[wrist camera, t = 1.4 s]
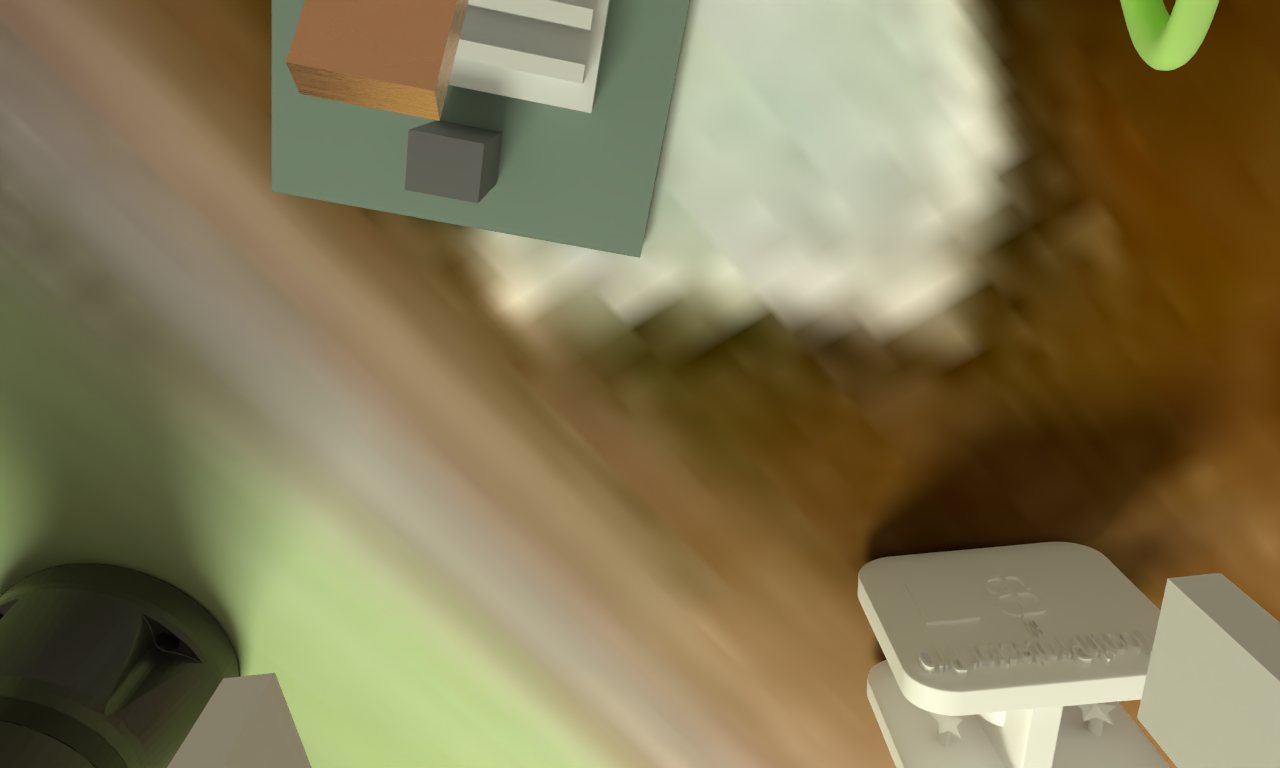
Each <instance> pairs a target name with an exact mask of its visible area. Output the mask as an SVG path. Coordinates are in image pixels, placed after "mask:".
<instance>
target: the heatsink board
mask: <svg viewBox="0 0 1280 768" xmlns="http://www.w3.org/2000/svg"><path fill="white" fill-rule="evenodd" d="M689 2H690V0H469V1H468V5H467V10H466V14H465V18H464V22H463V26H462V30H461V35H460V39H459V43H458V47H457V51H456V56H455V60H454V64H453V68H452V72H451V76H450V81H449V85H448V89H447V93H446V97H445V102H444V106H443V110H442V114H441V118H440V121H437V120H432V119H426V118H421V117H416V116H411V115H406V114H401V113H396V112H390V111H385V110H380V109H375V108H370V107H365V106H360V105H354V104H349V103H344V102H339V101H334V100H329V99H324V98H318V97H313V96H308V95H303V94H299V91H298V89H297V87H296V84H295V82H294V80H293V78H292V75H291V73H290V71H289V68H288V66H287V64H286V59H287V56H288V53H289V50H290V47H291V44H292V41H293V37H294V34H295V31H296V28H297V25H298V22H299V19H300V16H301V13H302V9H303V6H304V3H305V0H272V191H273V192H279V193H284V194H290V195H296V196H301V197H307V198H312V199H318V200H323V201H329V202H334V203H340V204H345V205H351V206H357V207H362V208H368V209H373V210H379V211H384V212H390V213H395V214H401V215H407V216H412V217H418V218H423V219H429V220H434V221H440V222H445V223H451V224H456V225H462V226H468V227H473V228H479V229H484V230H490V231H495V232H501V233H506V234H512V235H517V236H523V237H529V238H534V239H540V240H545V241H551V242H556V243H562V244H567V245H573V246H579V247H584V248H590V249H595V250H601V251H606V252H612V253H617V254H623V255H628V256H634V257H640V256H641V250H642V245H643V240H644V235H645V230H646V225H647V219H648V214H649V209H650V204H651V199H652V194H653V188H654V183H655V178H656V173H657V168H658V163H659V157H660V152H661V147H662V142H663V137H664V132H665V126H666V121H667V116H668V111H669V106H670V101H671V95H672V90H673V85H674V80H675V75H676V70H677V64H678V59H679V54H680V49H681V44H682V39H683V33H684V28H685V23H686V18H687V13H688V8H689Z"/></svg>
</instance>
